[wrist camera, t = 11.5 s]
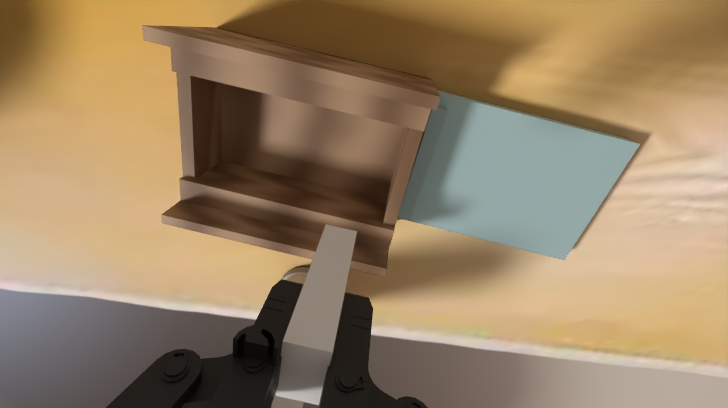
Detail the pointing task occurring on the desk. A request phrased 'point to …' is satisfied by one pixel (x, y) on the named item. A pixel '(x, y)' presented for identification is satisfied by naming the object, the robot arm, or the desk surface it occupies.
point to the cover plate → (511, 175)
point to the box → (291, 142)
